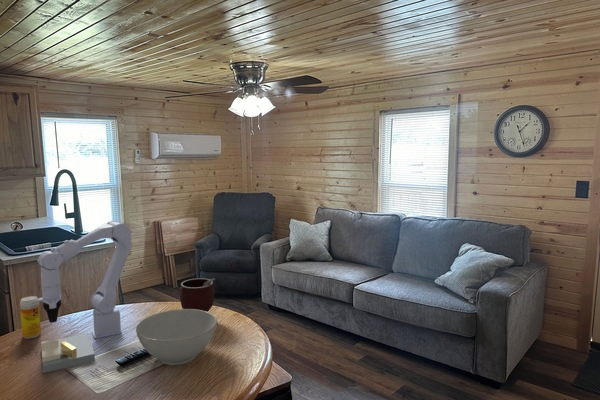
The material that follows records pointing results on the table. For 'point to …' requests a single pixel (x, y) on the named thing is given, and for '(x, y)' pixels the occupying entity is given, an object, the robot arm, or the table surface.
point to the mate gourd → (197, 294)
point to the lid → (50, 350)
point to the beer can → (30, 317)
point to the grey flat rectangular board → (83, 356)
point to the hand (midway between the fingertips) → (53, 321)
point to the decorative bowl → (176, 334)
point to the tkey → (68, 350)
